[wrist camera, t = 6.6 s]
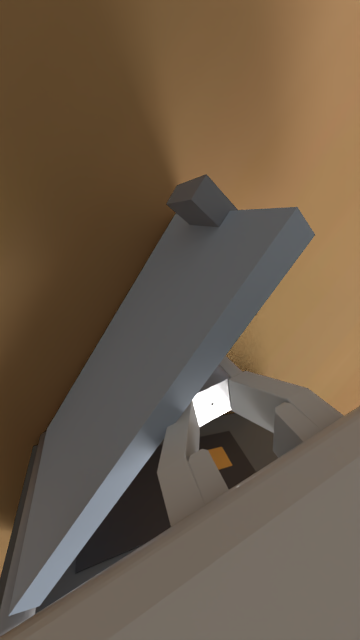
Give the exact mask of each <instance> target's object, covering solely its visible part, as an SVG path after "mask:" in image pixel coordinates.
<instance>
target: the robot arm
mask: <svg viewBox="0 0 360 640" xmlns="http://www.w3.org/2000/svg"><path fill="white" fill-rule="evenodd" d="M230 410H232V411H233V412H235V413H237V414H239V415H240V416H242V417H244V418H246V419H248V420H250V421H252V422H254V423H256V424H257V425H259V426H261V427H263V428H265V429H267V430H269V431H271V432H273V433H274V436H273V452H274V453H275V454H276V456H277V457H278V459H276V460H274V461H273V462H271V463H270V464H268V465H267V466H265V467H264V468H262V469H260V470H259V471H257V472H256V473H254V474H253V475H251V476H250V477H248V478H246V479H245V480H243V481H242V482H240V483H239V484H237V485H236V486H234V487H232V488H231V489H228V487H227V485H226V483H225V481H224V479H223V478H222V476H221V474H220V472H219V470H218V468H217V466H216V464H215V462H214V461H213V459H212V457H211V455H210V453H209V451H208V450H205V449H201V450H199V438H200V426H202V425H204V424H205V423H207V422H209V421H211V420H212V419H214V418H216V417H218V416H220V415H222V414H224V413H226V412H228V411H230ZM157 475H158V479H159V482H160V486H161V490H162V494H163V498H164V502H165V506H166V509H167V513H168V517H169V521H170V525H171V527H170V528H169V529H167V530H165V531H164V532H162V533H161V534H159V535H158V536H156V537H155V538H153V539H151V540H150V541H148V542H147V543H145V544H144V545H142V546H141V547H139V548H137V549H136V550H134V551H133V552H131V553H130V554H128V555H127V556H125V557H123V558H122V559H120V560H119V561H117V562H116V563H114V564H113V565H111V566H109V567H108V568H106V569H105V570H103V571H102V572H100V573H99V574H97V575H95V576H94V577H92V578H91V579H89V580H88V581H86V582H85V583H83V584H81V585H80V586H78V587H77V588H75V589H74V590H72V591H71V592H69V593H67V594H66V595H64V596H63V597H61V598H60V599H58V600H57V601H55V602H53V603H52V604H50V605H49V606H47V607H46V608H44V609H43V610H41V611H39V612H38V613H36V614H35V615H33V616H32V617H30V618H29V619H27V620H25V621H24V622H22V623H21V624H19V625H18V626H16V627H15V628H13V629H11V630H10V631H8V632H7V633H5V634H4V635H2V636H0V640H360V406H359V407H357V408H356V409H354V410H352V411H351V412H349V413H348V414H346V415H345V416H344V415H342V414H341V413H340V412H338V411H337V410H336V409H334V408H333V407H332V406H330V405H329V404H328V403H326V402H325V401H324V400H323V399H321V398H320V397H319V396H317V395H316V394H315V393H313V392H312V391H311V390H309V389H308V388H305V387H302V386H298V385H294V384H291V383H287V382H284V381H280V380H277V379H273V378H270V377H266V376H263V375H259V374H256V373H252V372H248V371H244V372H242V371H241V370H240V369H239V368H238V367H237V366H236V365H235V364H234V363H233V362H232V361H231V360H230V359H229V358H228V357H227V356H225V357H224V358H223V360H222V361H221V362H220V364H219V365H218V366H217V368H216V369H215V370H214V372H213V373H212V374H211V376H210V377H209V378H208V380H207V381H206V383H205V384H204V385H203V387H202V388H201V389H200V391H199V392H198V393H197V395H196V396H195V397H194V399H193V400H192V401H191V403H190V404H189V405H188V407H187V408H186V409H185V411H184V412H183V413H182V415H181V416H180V418H179V419H178V420H177V422H176V423H174V424H172V425H170V426H168V427H167V429H166V433H165V438H164V442H163V447H162V452H161V456H160V461H159V465H158V470H157Z"/></svg>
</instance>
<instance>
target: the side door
mask: <svg viewBox="0 0 360 640" xmlns="http://www.w3.org/2000/svg"><path fill="white" fill-rule="evenodd" d="M167 205H168V206H169V207H170V208H171V209H172V210H173V211H175V212H176V213H177V214H175V215H174V217H173V219H172V220H171V222H170V224H169V225H168V227H167V229H166V230H165V232H164V234H163V235H162V237H161V239H160V240H159V242H158V244H157V245H156V247H155V249H154V250H153V252H152V254H151V255H150V257H149V259H148V260H147V262H146V264H145V265H144V267H143V269H142V271H141V272H140V274H139V276H138V277H137V279H136V281H135V282H134V284H133V286H132V287H131V289H130V291H129V292H128V294H127V296H126V297H125V299H124V301H123V302H122V304H121V306H120V307H119V309H118V311H117V312H116V314H115V316H114V317H113V319H112V321H111V322H110V324H109V326H108V328H107V329H106V331H105V333H104V334H103V336H102V338H101V339H100V341H99V343H98V344H97V346H96V348H95V349H94V351H93V353H92V354H91V356H90V358H89V359H88V361H87V363H86V364H85V366H84V368H83V369H82V371H81V373H80V374H79V376H78V378H77V379H76V381H75V383H74V384H73V386H72V388H71V390H70V391H69V393H68V395H67V396H66V398H65V400H64V401H63V403H62V405H61V406H60V408H59V410H58V411H57V413H56V415H55V416H54V418H53V420H52V421H51V423H50V425H49V426H48V428H47V431H46V432H44V433H42V434H41V436H40V439H39V443H38V448H37V452H36V457H35V461H34V465H33V470H32V474H31V478H30V483H29V487H28V491H27V496H26V500H25V504H24V509H23V513H22V517H21V522H20V526H19V530H18V535H17V539H16V543H15V548H14V552H13V557H12V561H11V565H10V570H9V574H8V578H7V583H6V587H5V591H4V596H3V600H2V604H1V609H0V636H2V635H4V634H5V633H7V632H8V631H10V630H11V629H13V628H15V627H16V626H18V625H19V624H21V623H22V622H24V621H25V620H27V619H29V618H30V617H32V616H33V615H35V610H36V607H38V606H40V605H41V604H42V602H43V601H44V599H45V598H46V597H47V595H48V594H49V593H50V591H51V590H52V589H53V587H54V586H55V585H56V583H57V582H58V581H59V579H60V578H61V577H62V575H63V574H64V573H65V571H66V570H67V568H68V567H69V566H70V564H71V563H72V562H73V560H74V559H75V558H76V556H77V555H78V554H79V552H80V551H81V550H82V548H83V547H84V546H85V544H86V543H87V542H88V540H89V539H90V537H91V536H92V535H93V533H94V532H95V531H96V529H97V528H98V527H99V525H100V524H101V523H102V521H103V520H104V519H105V517H106V516H107V515H108V513H109V512H110V511H111V509H112V508H113V506H114V505H115V504H116V502H117V501H118V500H119V498H120V497H121V496H122V494H123V493H124V492H125V490H126V489H127V488H128V486H129V485H130V484H131V482H132V481H133V480H134V478H135V477H136V475H137V474H138V473H139V471H140V470H141V469H142V467H143V466H144V465H145V463H146V462H147V461H148V459H149V458H150V457H151V455H152V454H153V453H154V451H155V450H156V449H157V447H158V446H159V444H160V443H161V442H162V440H163V439H164V438H165V433H166V429H167V427H168V426H170V425H172V424H174V423H176V422H177V420H178V419H179V418H180V416H181V415H182V413H183V412H184V411H185V409H186V408H187V407H188V405H189V404H190V403H191V401H192V400H193V399H194V397H195V396H196V395H197V393H198V392H199V391H200V389H201V388H202V387H203V385H204V384H205V383H206V381H207V380H208V378H209V377H210V376H211V374H212V373H213V372H214V370H215V369H216V368H217V366H218V365H219V364H220V362H221V361H222V360H223V358H224V357H225V356H226V354H227V353H228V352H229V350H230V349H231V347H232V346H233V345H234V343H235V342H236V341H237V339H238V338H239V337H240V335H241V334H242V333H243V331H244V330H245V329H246V327H247V326H248V325H249V323H250V322H251V321H252V319H253V318H254V316H255V315H256V314H257V312H258V311H259V310H260V308H261V307H262V306H263V304H264V303H265V302H266V300H267V299H268V298H269V296H270V295H271V294H272V292H273V291H274V290H275V288H276V287H277V285H278V284H279V283H280V281H281V280H282V279H283V277H284V276H285V275H286V273H287V272H288V271H289V269H290V268H291V267H292V265H293V264H294V263H295V261H296V260H297V259H298V257H299V256H300V254H301V253H302V252H303V250H304V249H305V248H306V246H307V245H308V244H309V242H310V241H311V240H312V238H313V237H314V236H315V234H314V232H313V231H312V229H311V228H310V226H309V225H308V223H307V221H306V220H305V218H304V217H303V215H302V214H301V212H300V210H299V209H298V207H290V208H271V209H252V210H237V209H236V207H235V206H234V205H233V204H232V203H231V202H230V201H229V199H228V198H227V197H226V196H225V195H224V194H223V193H222V191H221V190H220V189H219V188H218V187H217V186H216V185H215V183H214V182H213V181H212V180H211V179H210V178H209V177H208V176H207V174H206V175H203V176H201V177H198V178H195V179H193V180H190V181H187V182H185V183H182V184H179V185H177V186H176V188H175V190H174V192H173V193H172V195H171V197H170V198H169V200H168V202H167Z"/></svg>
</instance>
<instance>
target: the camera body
mask: <svg viewBox="0 0 360 640" xmlns="http://www.w3.org/2000/svg"><path fill="white" fill-rule="evenodd" d="M273 436H274V433H273V432H271V431H269V430H267V429H265V428H263V427H261V426H259V425H257V424H256V423H254V422H252V421H250V420H248V419H246V418H244V417H242V416H240V415H239V414H237V413H234V414H227V415H221V416H218V417H216V418H214V419H212V420H211V421H209V422H207V423H205V424H204V425H202V426H200V438H199V450H201V449H205V450H208V451H209V453H210V455H211V457H212V459H213V461H214V462H215V464H216V466H217V468H218V470H219V472H220V474H221V476H222V478H223V479H224V481H225V483H226V485H227V487H228V489H231V488H232V487H234V486H236V485H237V484H239V483H240V482H242V481H243V480H245V479H246V478H248V477H250V476H251V475H253V474H254V473H256V472H257V471H259V470H260V469H262V468H264V467H265V466H267V465H268V464H270V463H271V462H273V461H274V460H276V459H278V457H277V456H276V454H275V453H274V452H273ZM163 442H164V439H163V440H162V442H161V443H160V444H159V446H158V447H157V449H156V450H155V451H154V453H153V454H152V455H151V457H150V458H149V459H148V461H147V462H146V463H145V465H144V466H143V467H142V469H141V470H140V471H139V473H138V474H137V475H136V477H135V478H134V480H133V481H132V482H131V484H130V485H129V486H128V488H127V489H126V490H125V492H124V493H123V494H122V496H121V497H120V498H119V500H118V501H117V502H116V504H115V505H114V506H113V508H112V509H111V511H110V512H109V513H108V515H107V516H106V517H105V519H104V520H103V521H102V523H101V524H100V525H99V527H98V528H97V529H96V531H95V532H94V533H93V535H92V536H91V537H90V539H89V540H88V542H87V543H86V544H85V546H84V547H83V548H82V550H81V551H80V552H79V554H78V555H77V556H76V558H75V559H74V560H73V562H72V563H71V564H70V566H69V567H68V568H67V570H66V571H65V573H64V574H63V575H62V577H61V578H60V579H59V581H58V582H57V583H56V585H55V586H54V587H53V589H52V590H51V591H50V593H49V594H48V595H47V597H46V598H45V599H44V601H43V602H42V604H41V605H40V606H38V607H36V610H35V614H36V613H38V612H39V611H41V610H43V609H44V608H46V607H47V606H49V605H50V604H52V603H53V602H55V601H57V600H58V599H60V598H61V597H63V596H64V595H66V594H67V593H69V592H71V591H72V590H74V589H75V588H77V587H78V586H80V585H81V584H83V583H85V582H86V581H88V580H89V579H91V578H92V577H94V576H95V575H97V574H99V573H100V572H102V571H103V570H105V569H106V568H108V567H109V566H111V565H113V564H114V563H116V562H117V561H119V560H120V559H122V558H123V557H125V556H127V555H128V554H130V553H131V552H133V551H134V550H136V549H137V548H139V547H141V546H142V545H144V544H145V543H147V542H148V541H150V540H151V539H153V538H155V537H156V536H158V535H159V534H161V533H162V532H164V531H165V530H167V529H169V528H170V527H171V525H170V521H169V517H168V513H167V509H166V506H165V502H164V498H163V494H162V490H161V486H160V482H159V479H158V475H157V470H158V465H159V461H160V456H161V452H162V447H163ZM37 448H38V445H36V446H33V449H32V453H31V457H30V461H29V465H28V469H27V473H26V477H25V481H24V486H23V490H22V494H21V498H20V502H19V506H18V510H17V514H16V518H15V522H14V526H13V530H12V534H11V538H10V542H9V546H8V550H7V554H6V558H5V562H4V566H3V570H2V574H1V578H0V609H1V604H2V600H3V596H4V591H5V587H6V583H7V578H8V574H9V570H10V565H11V561H12V557H13V552H14V548H15V543H16V539H17V535H18V530H19V526H20V522H21V517H22V513H23V509H24V504H25V500H26V496H27V491H28V487H29V483H30V478H31V474H32V470H33V465H34V461H35V457H36V452H37Z"/></svg>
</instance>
